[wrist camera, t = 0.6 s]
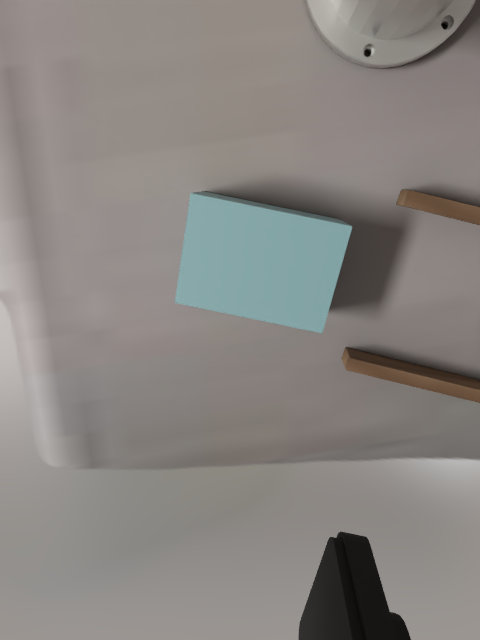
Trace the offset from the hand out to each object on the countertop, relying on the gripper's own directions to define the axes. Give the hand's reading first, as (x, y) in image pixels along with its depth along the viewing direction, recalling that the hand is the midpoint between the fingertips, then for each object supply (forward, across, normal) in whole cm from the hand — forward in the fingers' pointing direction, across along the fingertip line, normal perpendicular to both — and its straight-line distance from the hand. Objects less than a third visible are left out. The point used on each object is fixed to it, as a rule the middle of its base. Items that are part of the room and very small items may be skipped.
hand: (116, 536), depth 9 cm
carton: (+30, -2, -2) cm, 30 cm away
